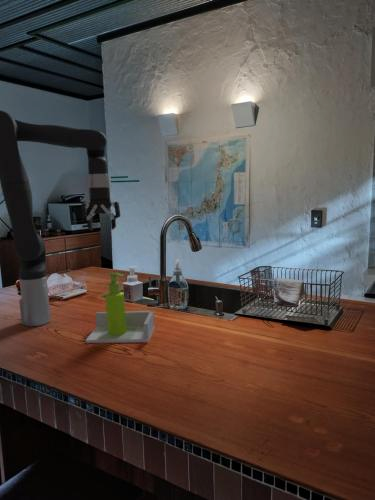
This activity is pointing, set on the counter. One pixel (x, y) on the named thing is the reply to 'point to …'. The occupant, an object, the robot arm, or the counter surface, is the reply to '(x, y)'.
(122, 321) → the soap dispenser
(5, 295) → the counter surface
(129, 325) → the grey corner tray
